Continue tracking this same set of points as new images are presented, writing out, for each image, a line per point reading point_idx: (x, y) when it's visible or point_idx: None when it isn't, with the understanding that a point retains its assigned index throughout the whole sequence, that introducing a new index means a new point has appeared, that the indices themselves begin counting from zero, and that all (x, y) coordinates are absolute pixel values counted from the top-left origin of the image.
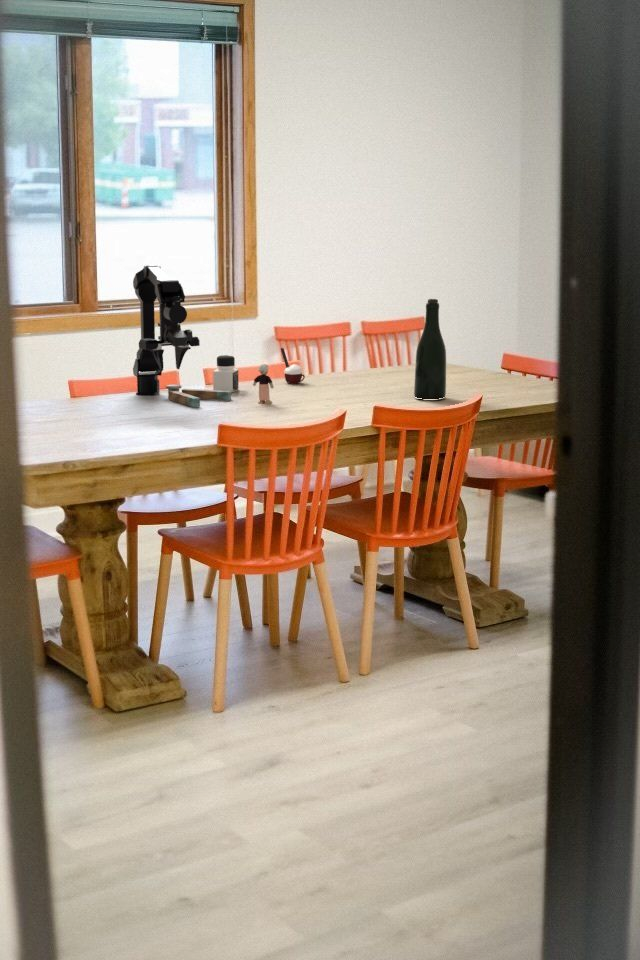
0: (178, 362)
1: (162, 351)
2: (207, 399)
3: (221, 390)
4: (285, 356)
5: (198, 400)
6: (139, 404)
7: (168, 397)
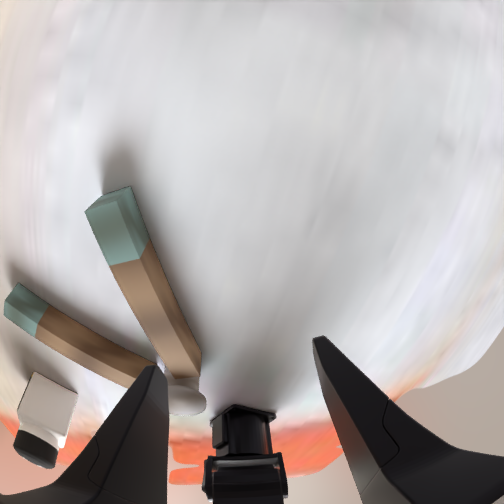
0: (142, 415)
1: (448, 499)
2: (77, 322)
3: (58, 387)
4: None
5: (95, 204)
6: (325, 310)
7: None
